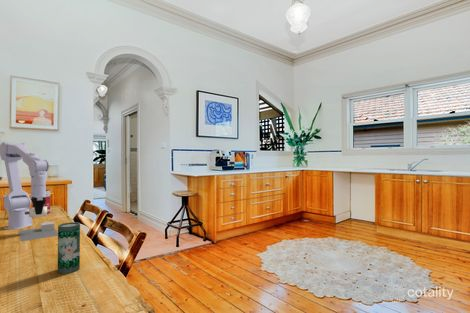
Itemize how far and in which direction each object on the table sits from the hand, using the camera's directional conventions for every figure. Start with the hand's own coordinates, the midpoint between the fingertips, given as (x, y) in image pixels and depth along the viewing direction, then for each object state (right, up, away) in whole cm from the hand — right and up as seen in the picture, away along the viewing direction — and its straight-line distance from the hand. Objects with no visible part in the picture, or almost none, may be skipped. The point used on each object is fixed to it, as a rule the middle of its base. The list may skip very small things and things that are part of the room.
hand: (38, 213), depth 129 cm
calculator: (-26, -9, +38) cm, 47 cm away
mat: (+1, -9, -2) cm, 10 cm away
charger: (+1, -9, +5) cm, 10 cm away
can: (+40, -10, -40) cm, 58 cm away
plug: (0, -1, 0) cm, 1 cm away
